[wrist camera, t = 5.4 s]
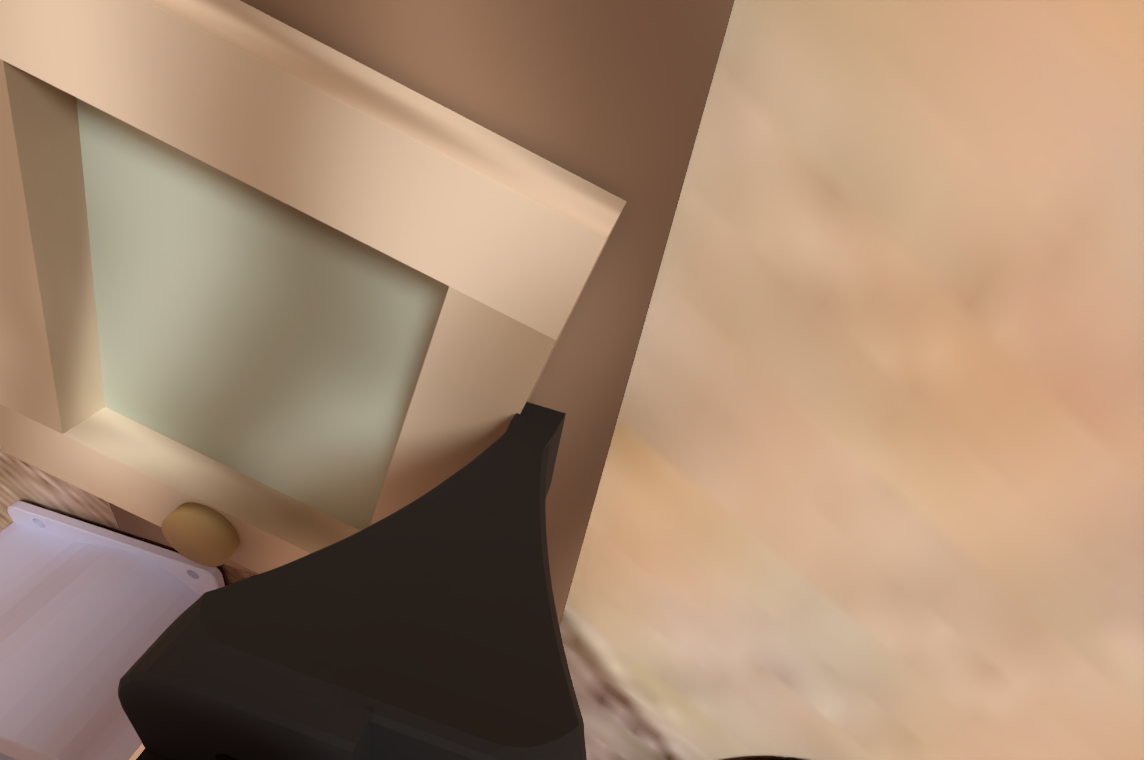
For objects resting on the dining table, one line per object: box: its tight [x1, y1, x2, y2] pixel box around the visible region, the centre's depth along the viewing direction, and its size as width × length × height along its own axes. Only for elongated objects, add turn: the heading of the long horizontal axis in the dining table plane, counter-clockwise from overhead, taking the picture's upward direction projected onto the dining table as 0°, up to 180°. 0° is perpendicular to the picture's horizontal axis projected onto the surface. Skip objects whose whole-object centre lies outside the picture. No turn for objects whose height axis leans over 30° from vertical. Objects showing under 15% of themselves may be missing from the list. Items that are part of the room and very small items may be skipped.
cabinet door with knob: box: [0, 0, 627, 574], centre depth 13 cm, size 12×13×2 cm
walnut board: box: [109, 0, 734, 626], centre depth 15 cm, size 16×20×2 cm
